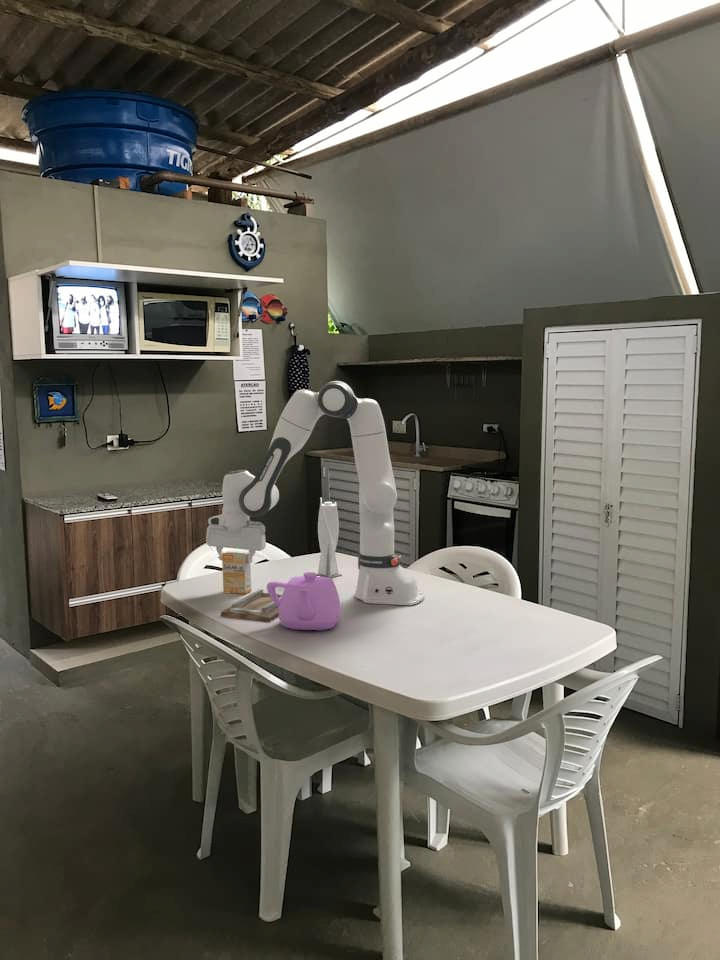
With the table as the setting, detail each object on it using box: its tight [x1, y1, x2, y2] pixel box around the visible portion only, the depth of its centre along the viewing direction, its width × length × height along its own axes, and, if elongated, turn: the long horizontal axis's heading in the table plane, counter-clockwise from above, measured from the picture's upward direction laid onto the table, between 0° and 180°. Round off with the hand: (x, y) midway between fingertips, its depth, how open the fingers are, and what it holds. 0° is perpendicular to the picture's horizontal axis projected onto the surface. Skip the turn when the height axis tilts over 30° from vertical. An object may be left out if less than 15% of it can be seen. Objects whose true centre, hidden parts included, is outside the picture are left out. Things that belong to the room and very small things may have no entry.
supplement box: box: [221, 551, 252, 595], centre depth 252 cm, size 8×5×13 cm, turn 73°
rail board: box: [220, 589, 283, 623], centre depth 234 cm, size 16×22×3 cm
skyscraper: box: [316, 497, 343, 579], centre depth 275 cm, size 8×8×28 cm
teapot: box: [266, 571, 342, 632], centre depth 215 cm, size 23×21×15 cm
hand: (235, 561), depth 251 cm, fingers open, 8 cm apart
